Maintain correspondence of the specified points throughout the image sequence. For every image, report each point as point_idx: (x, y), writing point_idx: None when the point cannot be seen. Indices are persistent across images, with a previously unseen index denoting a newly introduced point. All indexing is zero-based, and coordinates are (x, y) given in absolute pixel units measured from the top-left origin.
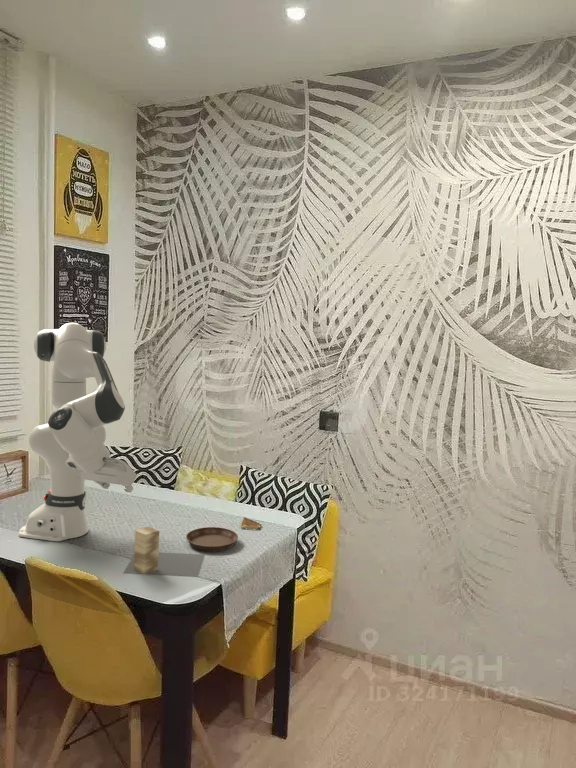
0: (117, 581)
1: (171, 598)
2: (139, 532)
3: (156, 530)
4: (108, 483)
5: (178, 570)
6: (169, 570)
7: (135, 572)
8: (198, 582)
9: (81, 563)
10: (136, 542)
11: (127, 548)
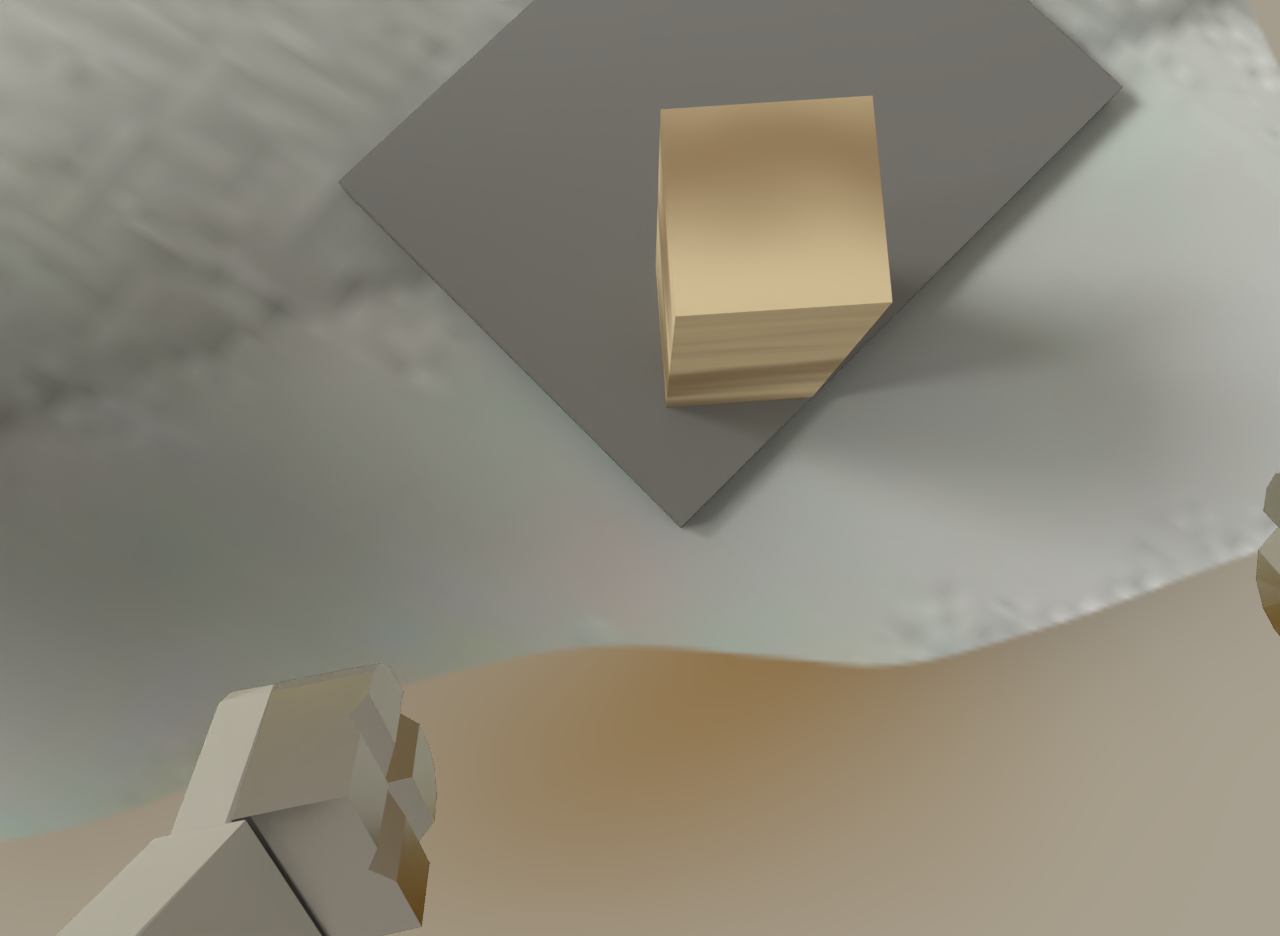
0: (739, 612)
1: (1267, 447)
2: (765, 311)
3: (841, 116)
4: (359, 724)
5: (922, 135)
6: None
7: (738, 436)
8: (1150, 121)
9: (216, 666)
10: (700, 348)
11: (181, 182)
